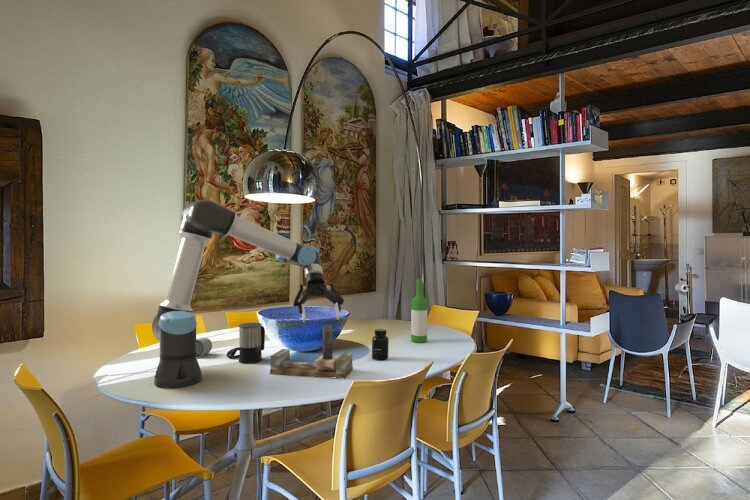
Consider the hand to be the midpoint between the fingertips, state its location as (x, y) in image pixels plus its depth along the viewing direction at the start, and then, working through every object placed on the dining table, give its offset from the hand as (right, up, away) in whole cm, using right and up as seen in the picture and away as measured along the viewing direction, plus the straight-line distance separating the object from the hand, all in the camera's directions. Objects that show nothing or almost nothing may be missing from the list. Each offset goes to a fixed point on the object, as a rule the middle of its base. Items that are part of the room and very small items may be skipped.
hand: (321, 318), depth 181 cm
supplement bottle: (+23, -18, +11) cm, 31 cm away
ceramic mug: (-54, -18, +14) cm, 59 cm away
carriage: (+3, -17, -10) cm, 20 cm away
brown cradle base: (-3, -18, -9) cm, 20 cm away
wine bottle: (+42, -18, +43) cm, 63 cm away
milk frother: (-33, -18, +9) cm, 39 cm away
